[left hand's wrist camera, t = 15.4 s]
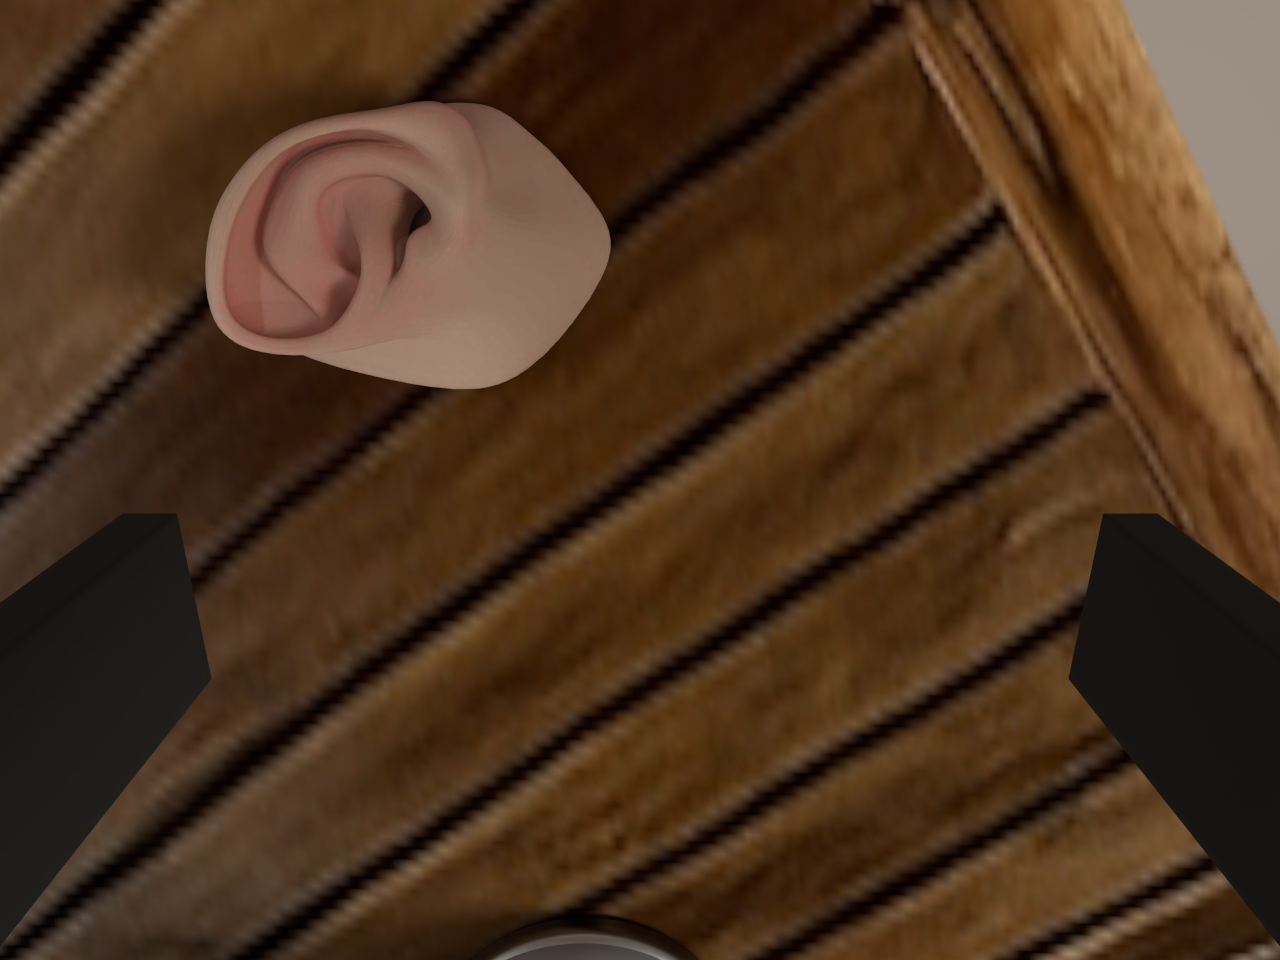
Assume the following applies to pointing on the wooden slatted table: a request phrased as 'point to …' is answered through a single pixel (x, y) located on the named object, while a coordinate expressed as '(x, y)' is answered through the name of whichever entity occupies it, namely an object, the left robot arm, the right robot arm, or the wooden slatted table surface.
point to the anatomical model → (405, 245)
